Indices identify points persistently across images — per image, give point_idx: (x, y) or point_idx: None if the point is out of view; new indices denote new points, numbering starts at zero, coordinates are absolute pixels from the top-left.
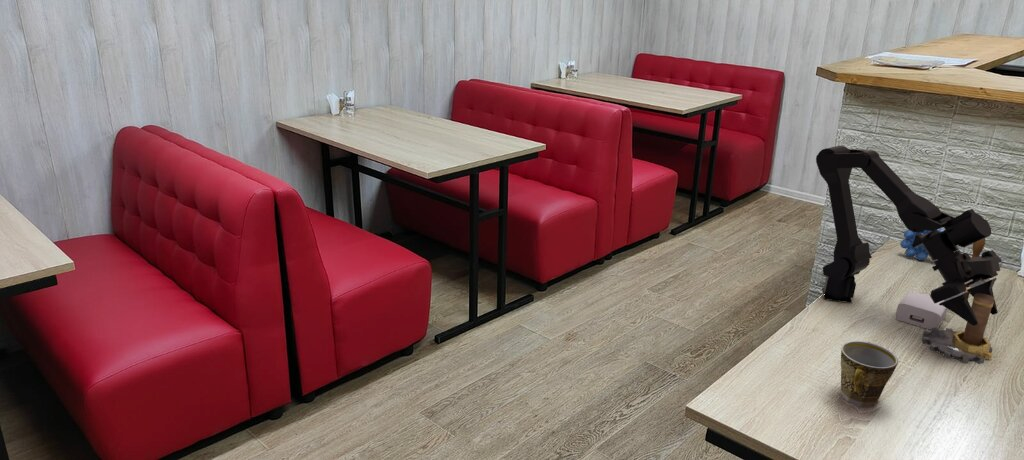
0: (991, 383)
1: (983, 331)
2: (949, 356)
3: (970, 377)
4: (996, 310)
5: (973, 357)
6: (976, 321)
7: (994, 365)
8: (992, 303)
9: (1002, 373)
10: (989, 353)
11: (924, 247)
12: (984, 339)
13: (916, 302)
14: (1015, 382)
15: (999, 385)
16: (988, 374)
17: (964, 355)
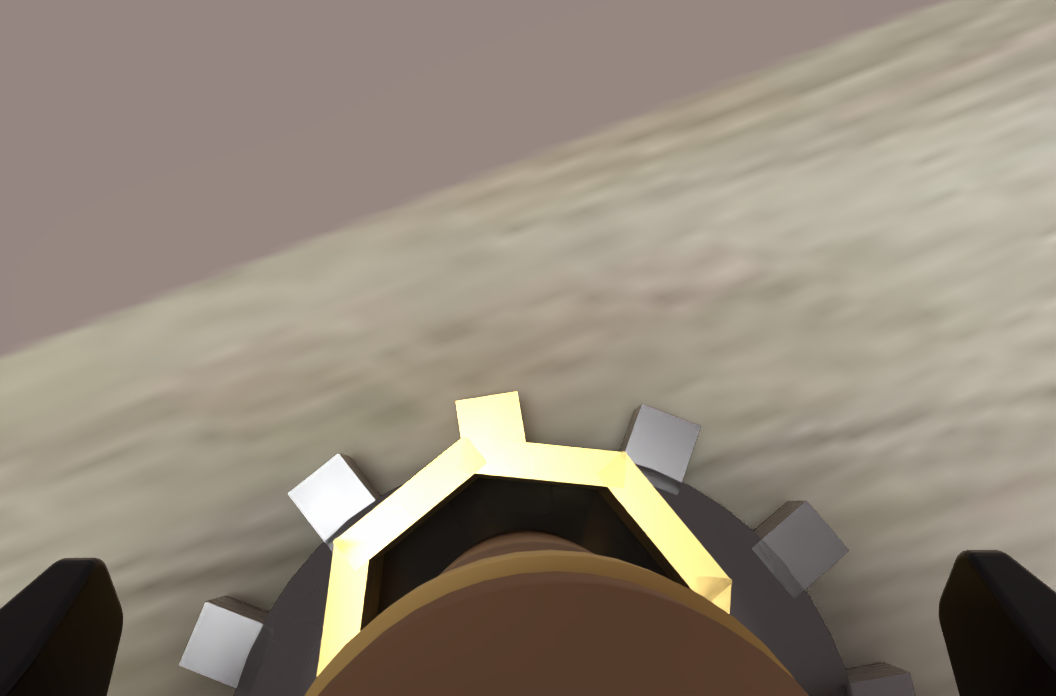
0: (961, 194)
1: (551, 539)
2: (895, 671)
3: (1039, 354)
4: (63, 589)
5: (705, 496)
6: (1031, 583)
7: (579, 327)
8: (549, 572)
9: (673, 215)
10: (480, 427)
11: None
12: (381, 549)
13: None
14: (735, 80)
15: (927, 138)
16: (818, 282)
17: (787, 565)
